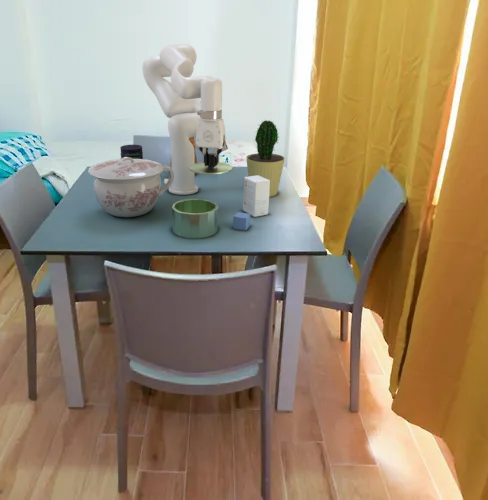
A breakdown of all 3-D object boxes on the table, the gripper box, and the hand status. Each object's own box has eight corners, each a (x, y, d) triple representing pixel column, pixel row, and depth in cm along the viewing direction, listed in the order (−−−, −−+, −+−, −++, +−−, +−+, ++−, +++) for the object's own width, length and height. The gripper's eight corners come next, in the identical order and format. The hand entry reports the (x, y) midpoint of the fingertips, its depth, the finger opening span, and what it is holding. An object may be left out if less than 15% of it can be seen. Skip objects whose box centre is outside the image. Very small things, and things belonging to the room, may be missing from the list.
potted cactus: (237, 193, 202) (239, 119, 190) (257, 184, 213) (261, 114, 200) (269, 201, 193) (274, 124, 181) (289, 191, 204) (294, 118, 191)
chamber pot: (77, 219, 177) (71, 163, 169) (115, 196, 201) (111, 146, 192) (147, 229, 168) (144, 170, 159) (178, 204, 191) (176, 151, 182)
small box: (268, 214, 180) (270, 180, 174) (254, 217, 177) (255, 182, 172) (256, 207, 186) (258, 174, 181) (242, 210, 184) (243, 176, 178)
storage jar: (127, 184, 216) (125, 150, 210) (119, 178, 224) (116, 146, 218) (147, 180, 221) (146, 147, 214) (138, 175, 228) (137, 143, 222)
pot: (165, 234, 164) (164, 210, 160) (184, 219, 176) (183, 196, 173) (207, 241, 158) (207, 216, 154) (223, 225, 171) (224, 202, 167)
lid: (182, 173, 179) (181, 156, 176) (199, 163, 192) (199, 147, 190) (223, 177, 173) (223, 160, 170) (238, 166, 186) (239, 151, 184)
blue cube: (233, 228, 167) (233, 216, 166) (237, 224, 171) (237, 212, 169) (245, 230, 166) (246, 218, 164) (249, 226, 170) (250, 213, 168)
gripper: (186, 115, 174) (187, 166, 182) (228, 118, 168) (227, 170, 176) (194, 112, 180) (195, 161, 188) (236, 114, 174) (234, 165, 182)
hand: (210, 165), depth 182 cm, fingers closed on lid, 2 cm apart
